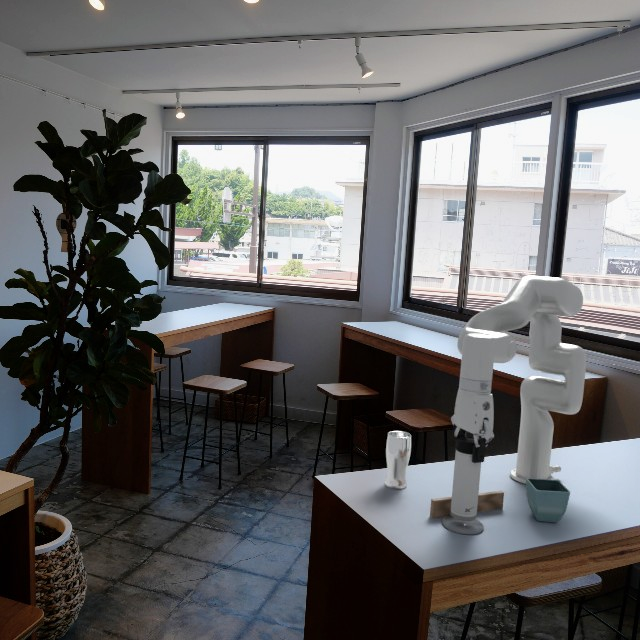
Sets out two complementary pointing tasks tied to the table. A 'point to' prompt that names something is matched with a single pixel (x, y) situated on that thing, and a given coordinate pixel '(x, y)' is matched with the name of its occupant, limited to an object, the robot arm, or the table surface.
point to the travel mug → (465, 481)
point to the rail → (485, 503)
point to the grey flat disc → (463, 526)
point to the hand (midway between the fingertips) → (468, 456)
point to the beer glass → (397, 458)
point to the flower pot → (547, 499)
